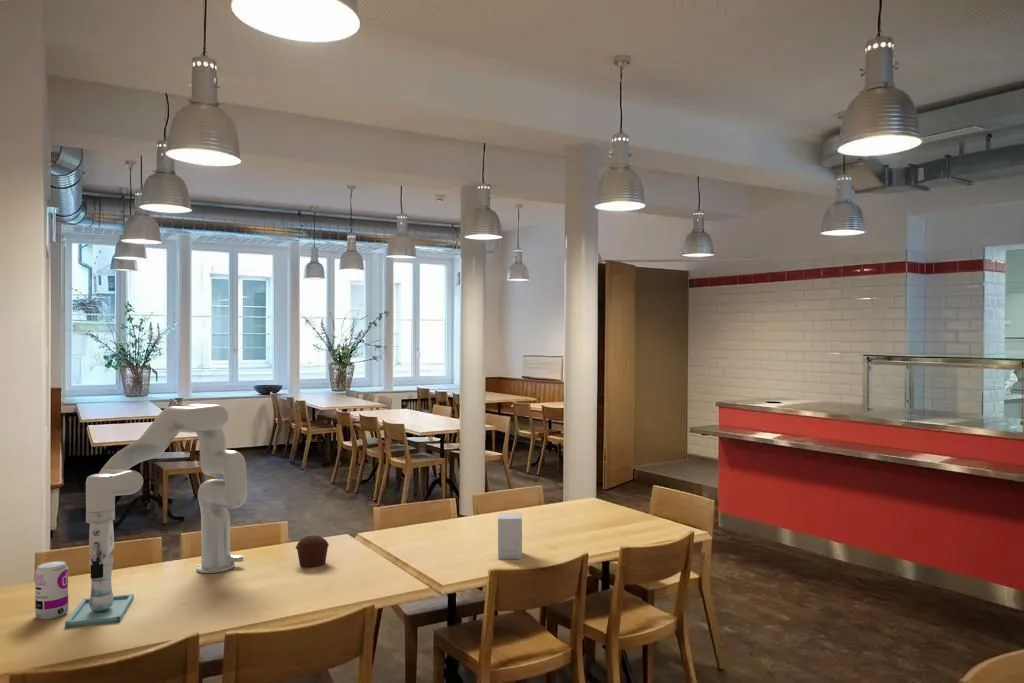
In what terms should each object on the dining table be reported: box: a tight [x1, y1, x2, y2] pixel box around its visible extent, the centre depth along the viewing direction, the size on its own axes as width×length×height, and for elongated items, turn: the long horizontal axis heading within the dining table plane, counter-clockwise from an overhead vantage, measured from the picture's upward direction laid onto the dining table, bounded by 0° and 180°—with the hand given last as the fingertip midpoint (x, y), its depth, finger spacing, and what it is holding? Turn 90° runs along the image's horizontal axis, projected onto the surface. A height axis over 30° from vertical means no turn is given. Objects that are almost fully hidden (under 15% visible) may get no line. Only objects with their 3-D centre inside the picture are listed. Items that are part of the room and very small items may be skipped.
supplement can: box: [34, 560, 69, 620], centre depth 216 cm, size 8×8×15 cm
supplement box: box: [497, 512, 523, 560], centre depth 273 cm, size 9×9×15 cm
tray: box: [64, 593, 135, 629], centre depth 218 cm, size 14×20×2 cm
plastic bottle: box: [88, 546, 114, 612], centre depth 218 cm, size 6×7×20 cm
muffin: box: [295, 535, 330, 569], centre depth 264 cm, size 12×11×10 cm
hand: (100, 572), depth 218 cm, fingers open, 9 cm apart
